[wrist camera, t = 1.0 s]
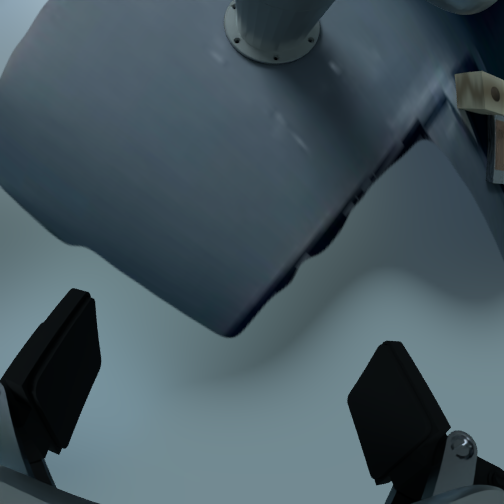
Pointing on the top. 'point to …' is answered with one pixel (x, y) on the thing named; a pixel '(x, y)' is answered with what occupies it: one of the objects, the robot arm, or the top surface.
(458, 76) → the maple block
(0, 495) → the robot arm
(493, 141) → the press
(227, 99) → the top surface
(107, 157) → the top surface
